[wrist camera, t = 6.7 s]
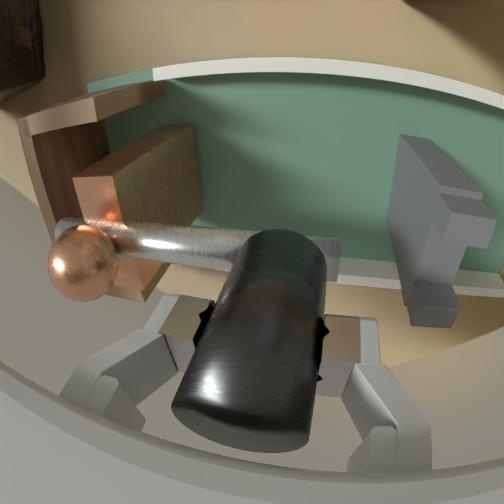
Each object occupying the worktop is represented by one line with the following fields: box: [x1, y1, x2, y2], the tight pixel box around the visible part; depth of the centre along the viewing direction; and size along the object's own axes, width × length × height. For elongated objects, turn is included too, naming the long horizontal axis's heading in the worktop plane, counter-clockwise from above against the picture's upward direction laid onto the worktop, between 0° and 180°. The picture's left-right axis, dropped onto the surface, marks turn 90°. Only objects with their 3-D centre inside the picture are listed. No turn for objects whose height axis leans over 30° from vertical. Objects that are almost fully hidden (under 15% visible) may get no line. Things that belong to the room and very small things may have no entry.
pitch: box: [87, 57, 504, 328], centre depth 15 cm, size 32×14×10 cm, turn 92°
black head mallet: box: [47, 125, 341, 453], centre depth 13 cm, size 13×6×15 cm, turn 92°
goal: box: [17, 80, 171, 303], centre depth 18 cm, size 7×12×7 cm, turn 2°
